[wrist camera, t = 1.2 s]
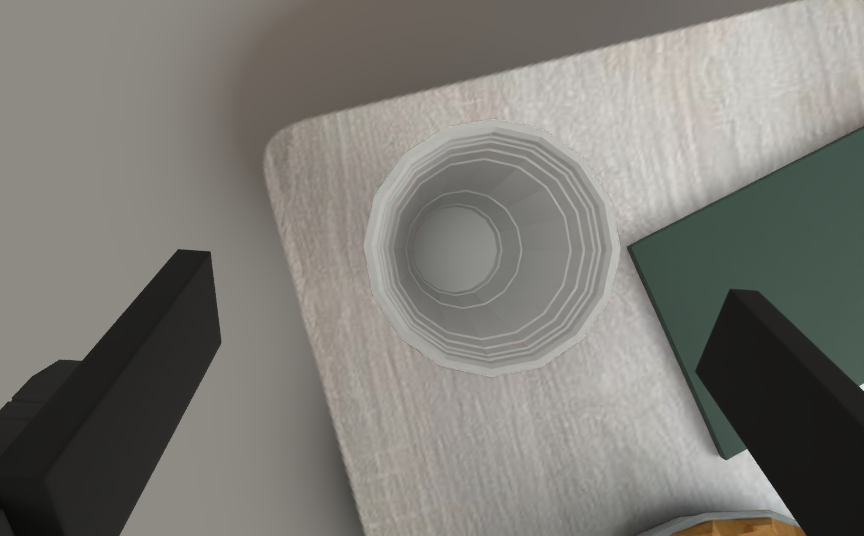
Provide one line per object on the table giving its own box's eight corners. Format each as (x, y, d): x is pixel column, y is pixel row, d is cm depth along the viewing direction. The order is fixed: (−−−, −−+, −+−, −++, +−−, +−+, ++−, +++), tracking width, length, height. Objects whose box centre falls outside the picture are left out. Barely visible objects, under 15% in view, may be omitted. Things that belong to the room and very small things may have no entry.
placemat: (626, 246, 35) (630, 246, 35) (874, 120, 37) (883, 118, 37) (720, 457, 37) (726, 460, 36) (956, 325, 39) (965, 326, 38)
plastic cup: (407, 133, 33) (428, 69, 22) (560, 204, 35) (660, 181, 23) (337, 293, 33) (319, 318, 21) (494, 359, 35) (559, 417, 23)
